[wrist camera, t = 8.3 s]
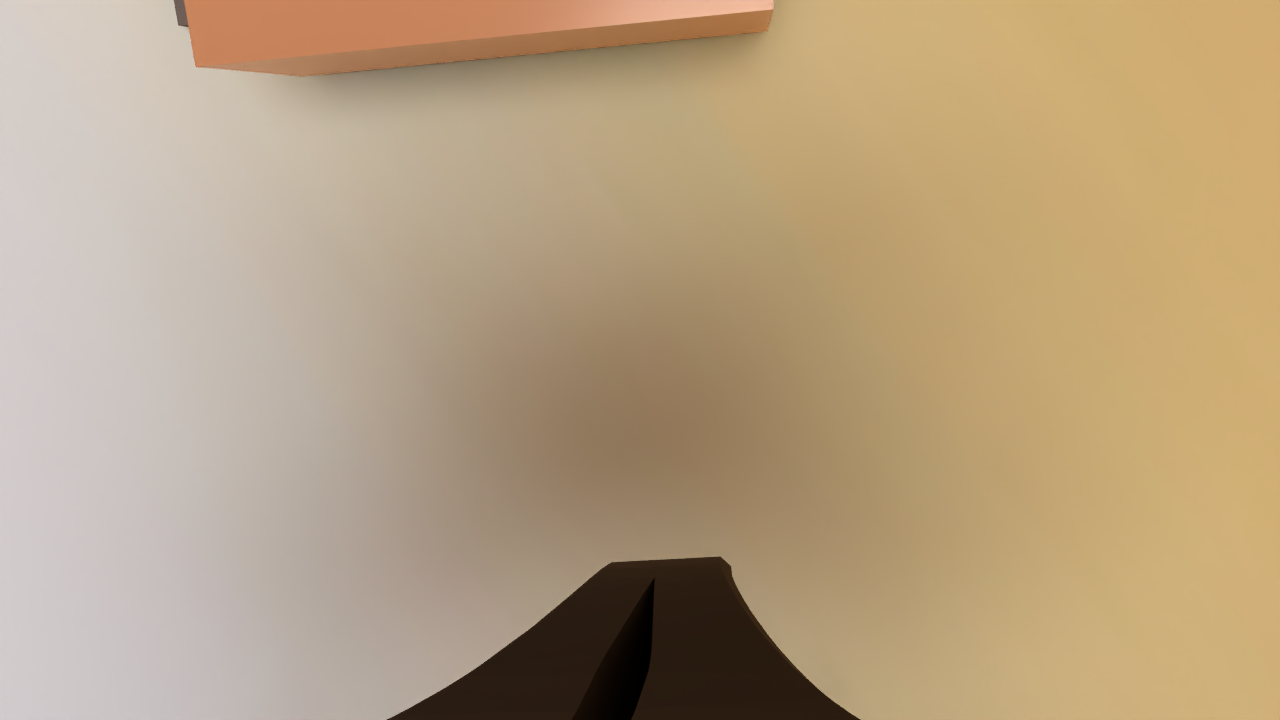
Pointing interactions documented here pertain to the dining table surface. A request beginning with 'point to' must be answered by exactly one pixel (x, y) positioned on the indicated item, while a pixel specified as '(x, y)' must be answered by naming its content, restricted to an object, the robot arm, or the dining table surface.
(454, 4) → the orange rectangular block
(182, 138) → the dining table surface
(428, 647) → the dining table surface
